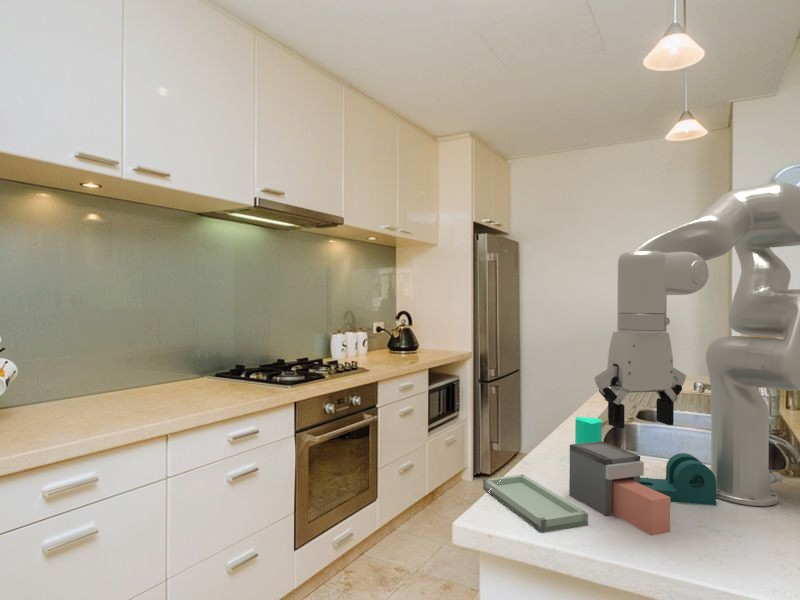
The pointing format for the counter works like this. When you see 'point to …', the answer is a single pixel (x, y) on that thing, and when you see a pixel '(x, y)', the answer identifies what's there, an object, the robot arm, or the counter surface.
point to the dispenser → (600, 473)
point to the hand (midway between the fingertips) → (640, 425)
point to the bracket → (685, 481)
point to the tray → (535, 503)
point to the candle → (588, 430)
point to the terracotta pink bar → (641, 506)
